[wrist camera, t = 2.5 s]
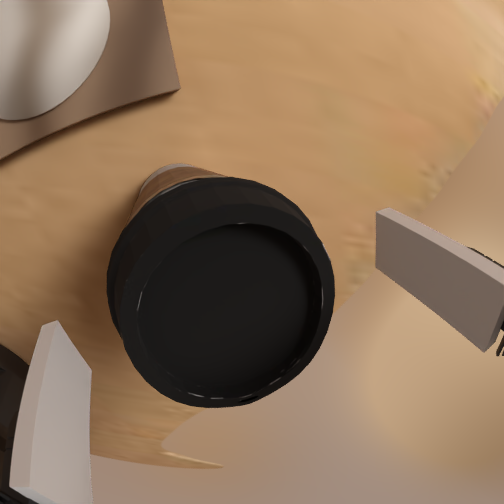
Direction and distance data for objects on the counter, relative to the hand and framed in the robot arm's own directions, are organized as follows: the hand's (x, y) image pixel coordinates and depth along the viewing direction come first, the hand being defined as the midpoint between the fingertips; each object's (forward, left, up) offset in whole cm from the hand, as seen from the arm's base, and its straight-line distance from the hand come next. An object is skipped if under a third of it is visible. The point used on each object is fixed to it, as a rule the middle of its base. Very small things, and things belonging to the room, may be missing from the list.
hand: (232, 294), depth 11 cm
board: (-7, +15, -13) cm, 21 cm away
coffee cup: (0, 0, -13) cm, 13 cm away
